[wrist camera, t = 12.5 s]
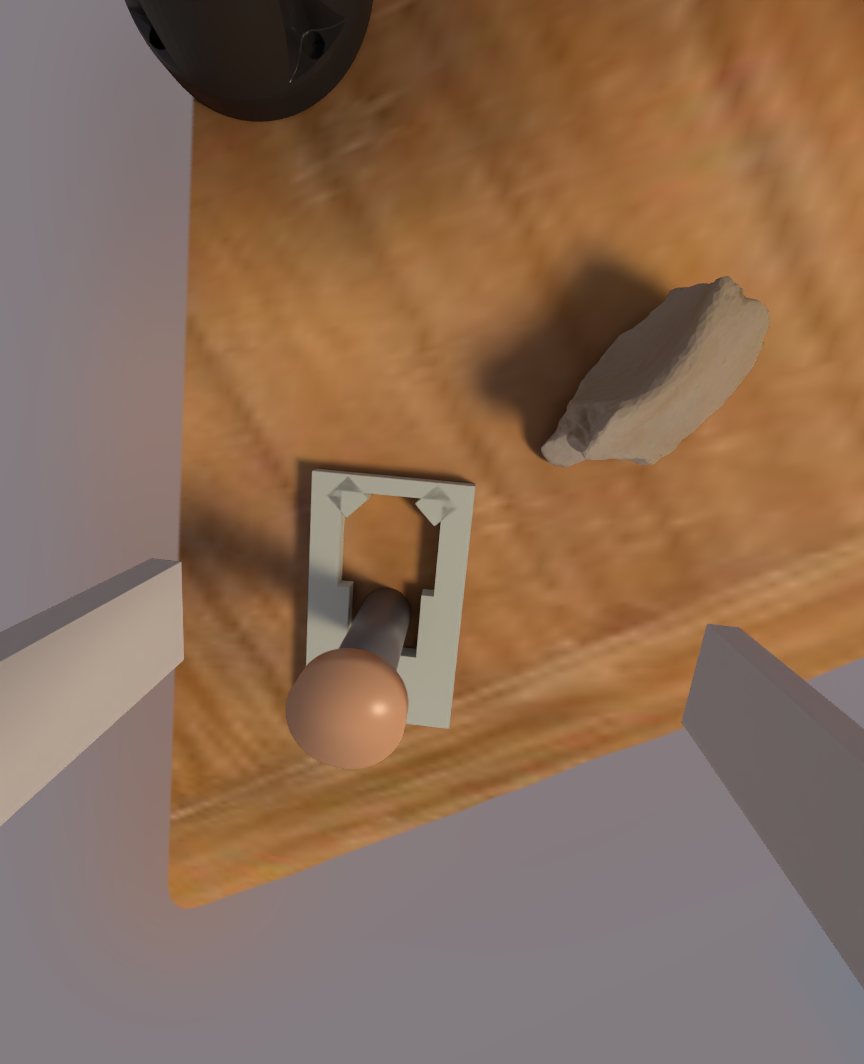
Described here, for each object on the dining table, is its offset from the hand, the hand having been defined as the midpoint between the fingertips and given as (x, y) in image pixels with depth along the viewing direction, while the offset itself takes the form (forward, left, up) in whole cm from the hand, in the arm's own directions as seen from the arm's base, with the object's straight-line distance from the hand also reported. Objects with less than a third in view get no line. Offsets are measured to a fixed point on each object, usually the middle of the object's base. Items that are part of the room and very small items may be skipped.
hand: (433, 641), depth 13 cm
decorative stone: (-8, +13, -26) cm, 30 cm away
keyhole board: (+9, -4, -26) cm, 28 cm away
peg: (+10, -4, -26) cm, 28 cm away
